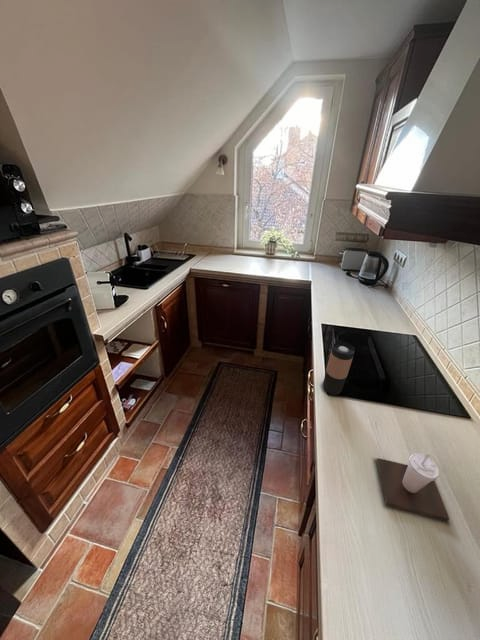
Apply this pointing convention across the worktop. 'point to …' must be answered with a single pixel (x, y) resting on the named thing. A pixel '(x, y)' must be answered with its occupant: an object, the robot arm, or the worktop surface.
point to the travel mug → (338, 367)
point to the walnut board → (401, 498)
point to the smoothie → (419, 472)
